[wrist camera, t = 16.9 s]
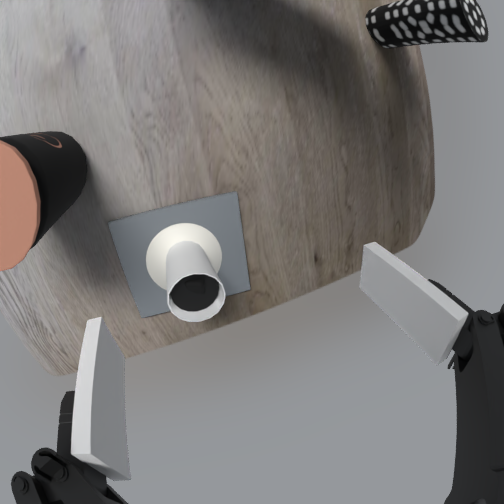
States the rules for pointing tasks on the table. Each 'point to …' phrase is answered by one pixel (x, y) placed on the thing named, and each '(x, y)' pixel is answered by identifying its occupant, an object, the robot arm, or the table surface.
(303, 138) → the table surface
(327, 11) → the table surface
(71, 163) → the coffee jar
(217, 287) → the white cup
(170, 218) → the board
